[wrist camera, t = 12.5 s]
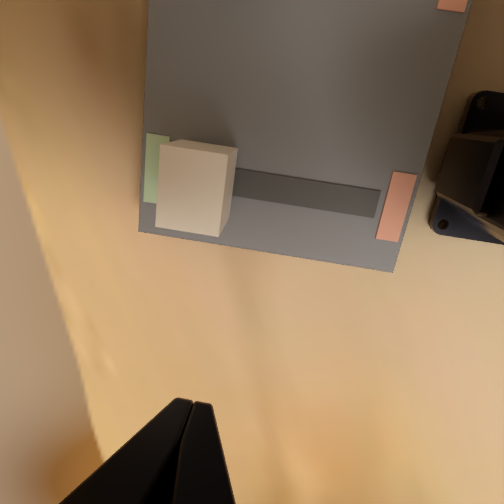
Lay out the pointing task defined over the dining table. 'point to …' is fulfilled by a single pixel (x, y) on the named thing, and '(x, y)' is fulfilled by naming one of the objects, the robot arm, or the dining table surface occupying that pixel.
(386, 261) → the breaker panel
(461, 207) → the robot arm
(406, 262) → the dining table surface
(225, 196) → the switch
